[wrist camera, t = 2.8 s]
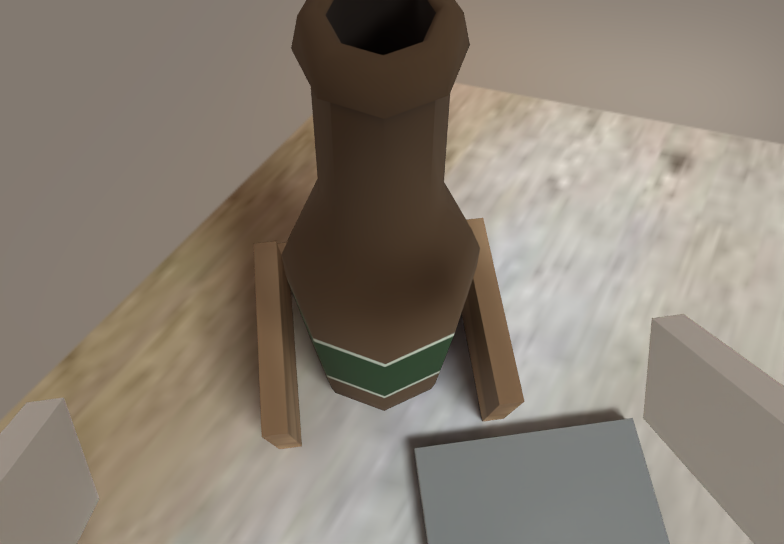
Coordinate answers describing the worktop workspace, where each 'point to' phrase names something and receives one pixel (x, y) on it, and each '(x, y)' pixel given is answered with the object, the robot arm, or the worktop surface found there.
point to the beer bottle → (381, 195)
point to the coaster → (541, 488)
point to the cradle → (279, 359)
